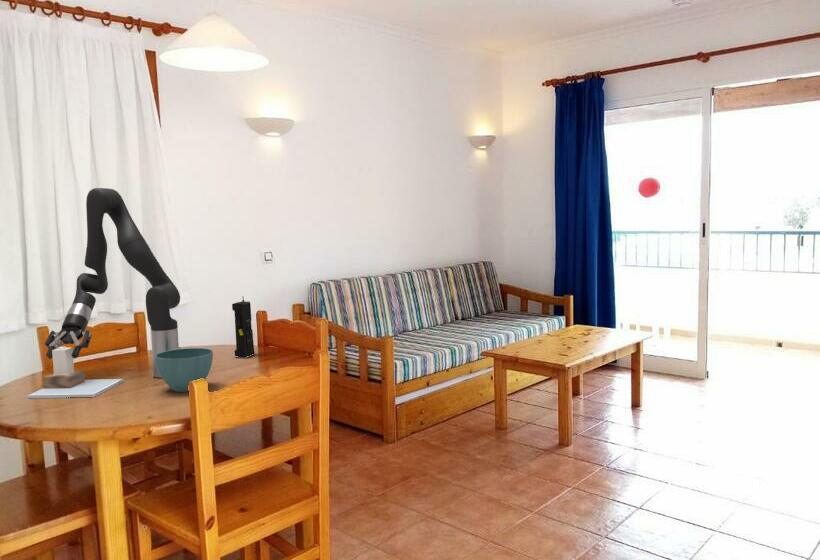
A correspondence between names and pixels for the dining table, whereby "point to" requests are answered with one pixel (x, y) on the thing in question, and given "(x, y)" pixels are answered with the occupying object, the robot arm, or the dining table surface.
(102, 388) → the build board
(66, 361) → the block
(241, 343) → the portable radio
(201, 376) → the teal bowl
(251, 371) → the dining table surface
